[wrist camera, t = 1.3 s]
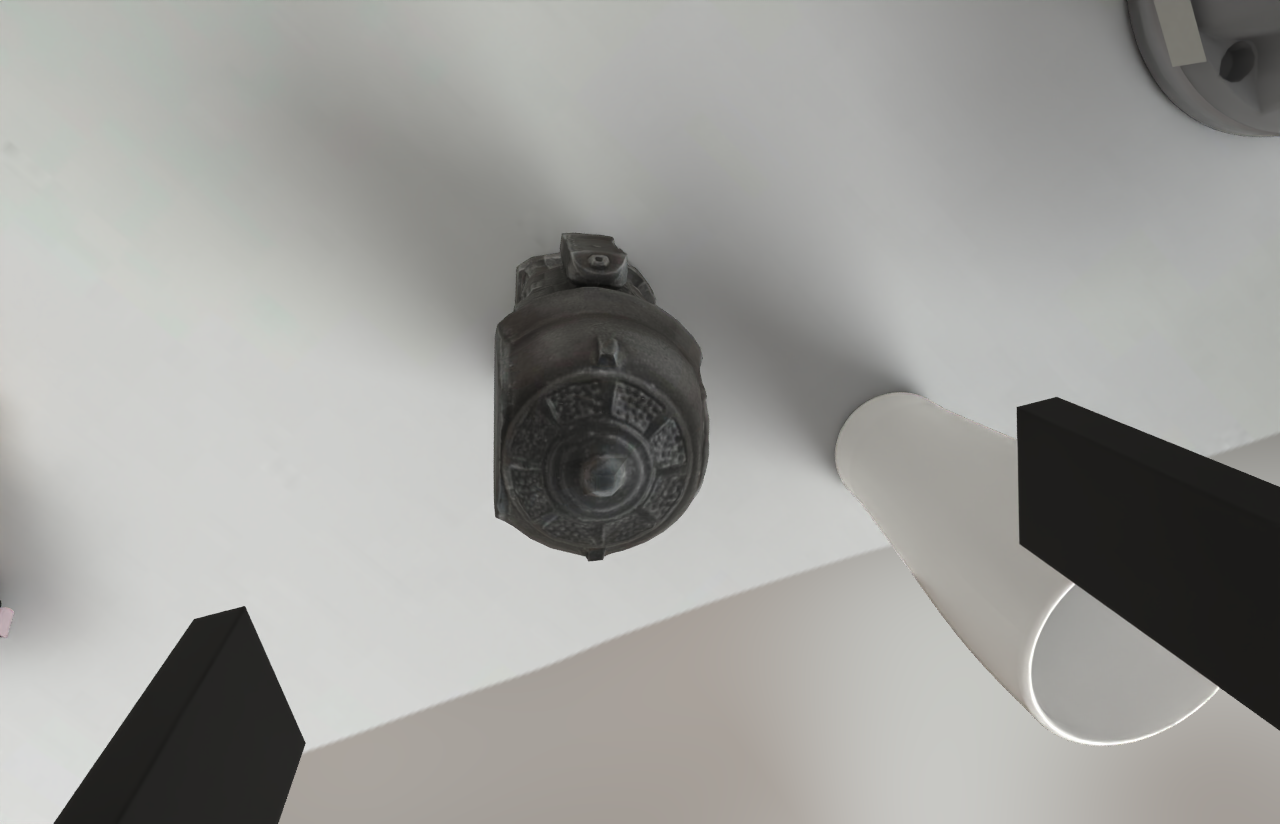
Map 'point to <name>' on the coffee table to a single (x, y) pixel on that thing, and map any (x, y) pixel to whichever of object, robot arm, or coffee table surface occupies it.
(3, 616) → the toy figure
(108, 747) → the robot arm
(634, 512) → the toy
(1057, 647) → the drinking glass
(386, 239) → the coffee table surface
